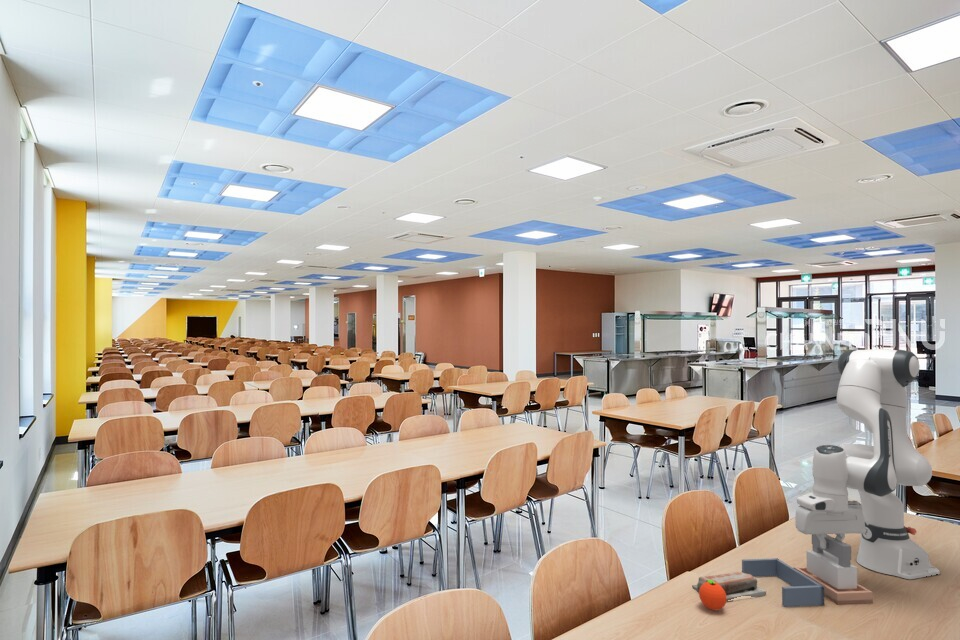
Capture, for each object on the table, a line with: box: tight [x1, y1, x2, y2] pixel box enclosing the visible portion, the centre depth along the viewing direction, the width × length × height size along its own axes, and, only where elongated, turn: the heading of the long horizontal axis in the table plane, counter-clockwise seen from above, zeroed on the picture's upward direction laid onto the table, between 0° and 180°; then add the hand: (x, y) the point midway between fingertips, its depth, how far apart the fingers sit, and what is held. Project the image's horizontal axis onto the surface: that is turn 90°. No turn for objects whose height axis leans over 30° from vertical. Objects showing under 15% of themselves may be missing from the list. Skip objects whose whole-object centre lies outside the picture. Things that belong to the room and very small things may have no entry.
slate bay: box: [741, 558, 825, 608], centre depth 152 cm, size 12×19×5 cm, turn 6°
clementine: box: [698, 580, 727, 611], centre depth 141 cm, size 8×7×7 cm
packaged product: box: [691, 571, 767, 601], centre depth 150 cm, size 18×5×10 cm
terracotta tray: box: [793, 566, 874, 606], centre depth 153 cm, size 11×17×3 cm, turn 6°
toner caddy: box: [806, 534, 858, 589], centre depth 153 cm, size 6×12×12 cm, turn 6°
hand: (830, 547), depth 153 cm, fingers closed on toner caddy, 2 cm apart
